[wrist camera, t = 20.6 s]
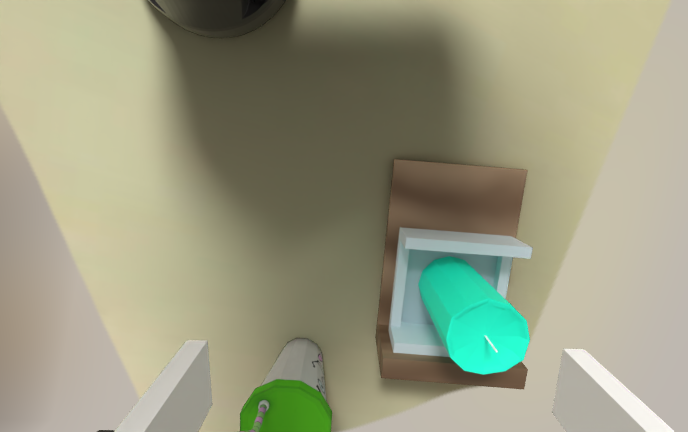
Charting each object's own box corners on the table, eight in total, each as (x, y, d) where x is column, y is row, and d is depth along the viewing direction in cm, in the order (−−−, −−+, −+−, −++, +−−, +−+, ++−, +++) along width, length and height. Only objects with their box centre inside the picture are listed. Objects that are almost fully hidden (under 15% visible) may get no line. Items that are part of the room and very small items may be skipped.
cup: (341, 382, 40) (337, 518, 25) (274, 391, 40) (231, 530, 26) (330, 319, 39) (319, 424, 24) (260, 329, 39) (207, 438, 24)
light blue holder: (398, 225, 35) (406, 237, 31) (507, 234, 35) (532, 247, 31) (387, 326, 37) (393, 352, 33) (490, 334, 37) (511, 362, 33)
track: (394, 159, 35) (404, 161, 28) (523, 169, 35) (565, 174, 28) (375, 337, 39) (381, 378, 32) (493, 346, 39) (523, 389, 32)
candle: (489, 274, 35) (559, 336, 24) (456, 322, 36) (507, 405, 25) (438, 245, 35) (484, 294, 23) (406, 294, 36) (435, 365, 24)
